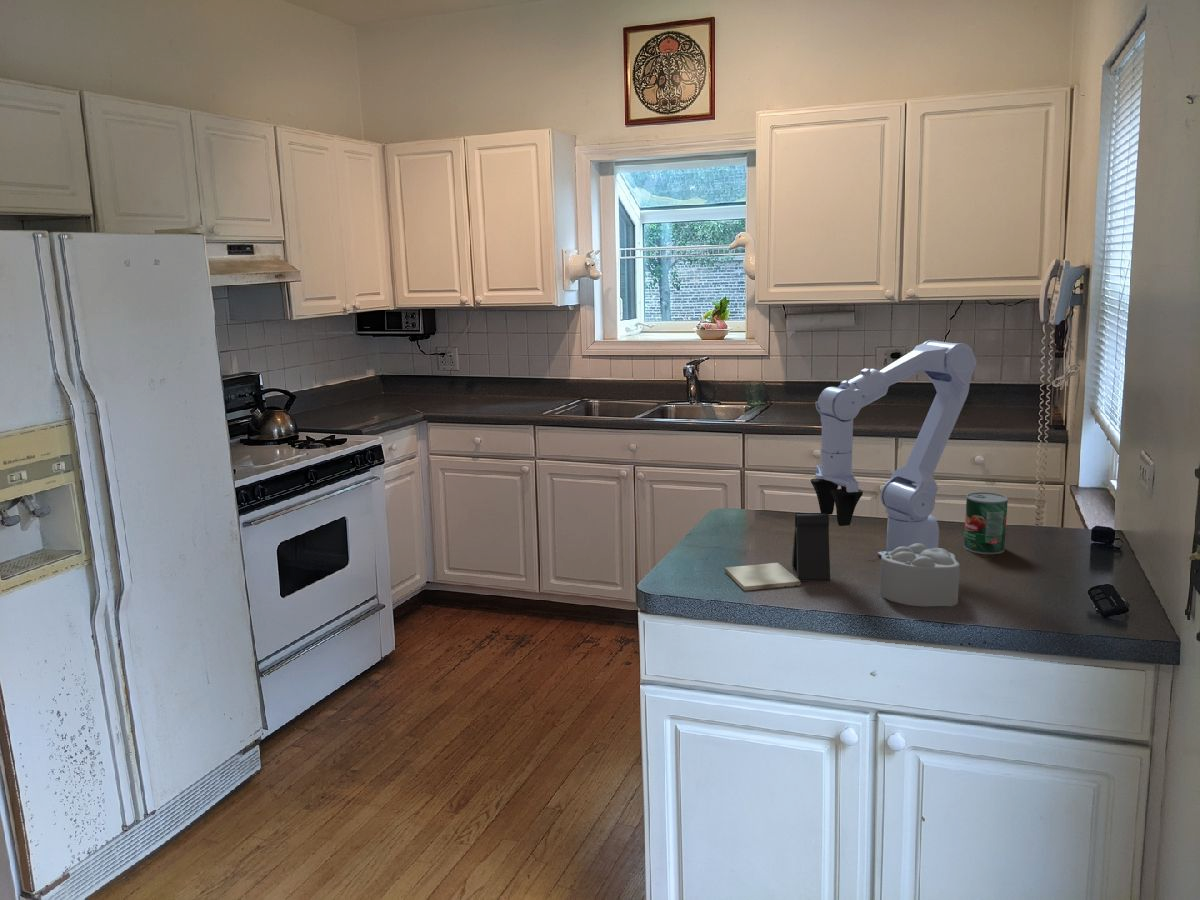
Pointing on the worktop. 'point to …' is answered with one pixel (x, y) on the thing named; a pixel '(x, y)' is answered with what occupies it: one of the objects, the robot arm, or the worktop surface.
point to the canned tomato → (985, 523)
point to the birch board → (761, 576)
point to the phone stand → (811, 547)
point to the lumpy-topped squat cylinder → (920, 576)
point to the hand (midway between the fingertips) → (835, 519)
